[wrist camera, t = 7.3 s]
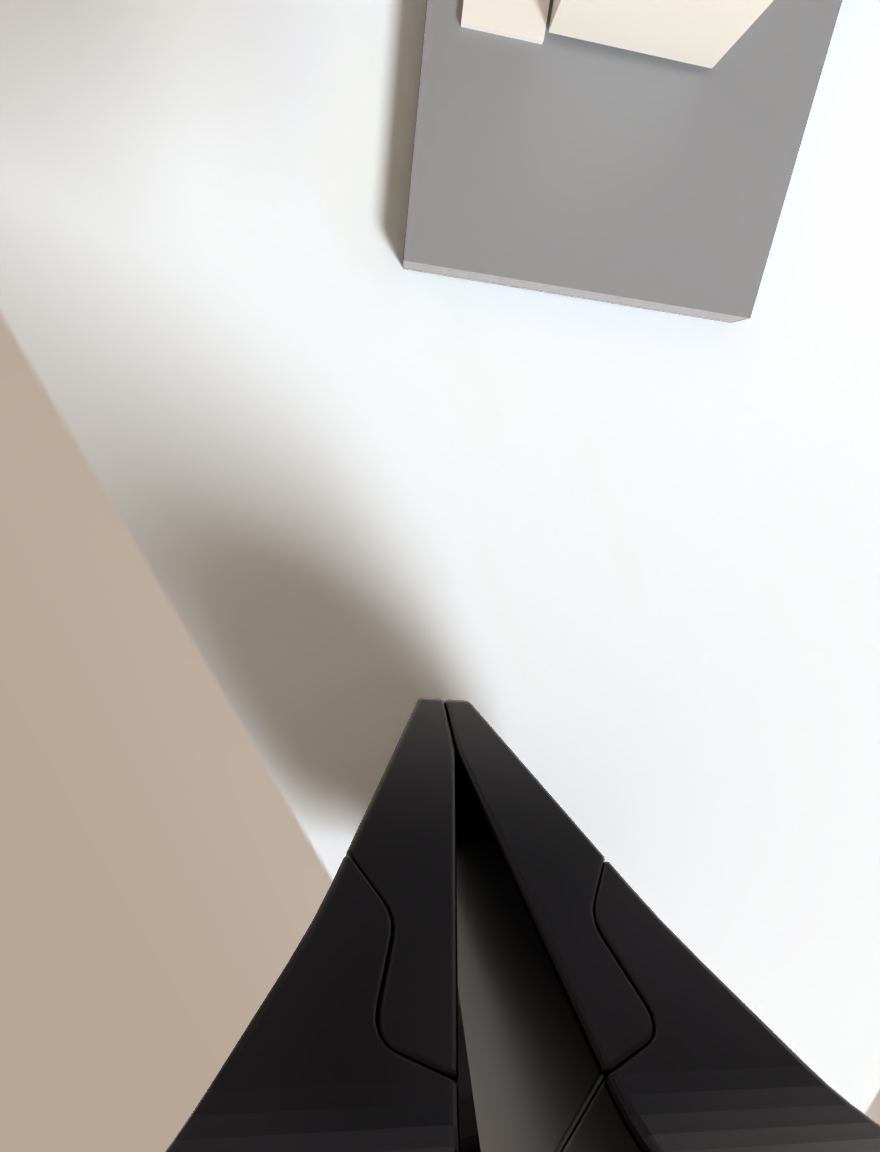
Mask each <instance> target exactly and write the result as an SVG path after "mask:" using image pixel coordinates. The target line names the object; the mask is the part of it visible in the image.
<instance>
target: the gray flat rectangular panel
mask: <svg viewBox="0 0 880 1152" xmlns="http://www.w3.org/2000/svg"><path fill="white" fill-rule="evenodd" d="M841 2H842V0H774V1H773V2H772V3H771V4H770V5H769V6H768V7H767V8H766V10H765V11H764V12H763V13H762V14H761V15H760V16H759V17H758V18H757V19H756V21H755V22H754V23H753V24H752V25H751V26H750V27H749V28H748V29H747V30H746V32H745V33H744V34H743V35H742V36H741V37H740V38H739V39H738V40H737V41H736V43H735V44H734V45H733V46H732V47H731V48H730V49H729V50H728V51H727V52H726V54H725V55H724V56H723V57H722V58H721V59H720V60H719V61H718V62H717V64H716V65H715V66H714V67H713V68H712V69H711V68H707V67H702V66H698V65H693V64H689V63H684V62H680V61H675V60H671V59H666V58H662V57H657V56H653V55H648V54H644V53H639V52H635V51H630V50H626V49H621V48H617V47H612V46H608V45H603V44H599V43H594V42H590V41H585V40H581V39H576V38H571V37H567V36H562V35H558V34H553V33H549V26H550V19H551V13H552V6H553V0H427V11H426V22H425V32H424V43H423V54H422V65H421V76H420V87H419V97H418V108H417V119H416V130H415V141H414V152H413V163H412V173H411V184H410V195H409V206H408V217H407V228H406V238H405V249H404V260H403V269H408V270H414V271H420V272H427V273H433V274H439V275H445V276H451V277H457V278H463V279H469V280H475V281H481V282H487V283H493V284H499V285H505V286H511V287H518V288H524V289H530V290H536V291H542V292H548V293H554V294H560V295H566V296H572V297H578V298H584V299H590V300H596V301H603V302H609V303H615V304H621V305H627V306H633V307H639V308H645V309H651V310H657V311H663V312H669V313H675V314H681V315H687V316H694V317H700V318H706V319H712V320H718V321H724V322H730V323H733V322H737V321H741V320H745V319H749V318H750V317H751V313H752V310H753V306H754V303H755V299H756V296H757V293H758V289H759V286H760V282H761V279H762V275H763V272H764V268H765V265H766V261H767V258H768V255H769V251H770V248H771V244H772V241H773V237H774V234H775V230H776V227H777V223H778V220H779V217H780V213H781V210H782V206H783V203H784V199H785V196H786V192H787V189H788V185H789V182H790V179H791V175H792V172H793V168H794V165H795V161H796V158H797V154H798V151H799V147H800V144H801V141H802V137H803V134H804V130H805V127H806V123H807V120H808V116H809V113H810V109H811V106H812V103H813V99H814V96H815V92H816V89H817V85H818V82H819V78H820V75H821V71H822V68H823V65H824V61H825V58H826V54H827V51H828V47H829V44H830V40H831V37H832V33H833V30H834V27H835V23H836V20H837V16H838V13H839V9H840V6H841Z"/></svg>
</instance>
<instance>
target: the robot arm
mask: <svg viewBox="0 0 880 1152" xmlns="http://www.w3.org/2000/svg"><path fill="white" fill-rule="evenodd" d="M604 860H605V859H604V856H603V855H602V854H601V853H600V852H599V850H598V849H597V848H596V847H595V846H594V845H593V844H592V842H591V841H590V840H589V839H588V838H587V837H586V835H585V834H584V833H583V832H582V831H581V830H580V829H579V827H578V826H577V825H576V824H575V823H574V822H573V821H572V819H571V818H570V817H569V816H568V815H567V814H566V812H565V811H564V810H563V809H562V808H561V807H560V806H559V804H558V803H557V802H556V801H555V800H554V799H553V798H552V796H551V795H550V794H549V793H548V792H547V791H546V789H545V788H544V787H543V786H542V785H541V784H540V783H539V781H538V780H537V779H536V778H535V777H534V776H533V774H532V773H531V772H530V771H529V770H528V769H527V768H526V766H525V765H524V764H523V763H522V762H521V761H520V760H519V758H518V757H517V756H516V755H515V754H514V753H513V751H512V750H511V749H510V748H509V747H508V746H507V745H506V743H505V742H504V741H503V740H502V739H501V738H500V737H499V735H498V734H497V733H496V732H495V731H494V730H493V728H492V727H491V726H490V725H489V724H488V723H487V722H486V720H485V719H484V718H483V717H482V716H481V715H480V714H479V712H478V711H477V710H476V709H475V708H474V707H473V705H472V704H471V703H470V702H468V701H463V700H446V701H445V702H443V701H442V700H441V699H432V698H420V699H419V700H418V702H417V704H416V706H415V708H414V710H413V712H412V714H411V716H410V719H409V721H408V723H407V725H406V727H405V729H404V731H403V734H402V736H401V738H400V740H399V742H398V744H397V746H396V748H395V751H394V753H393V755H392V757H391V759H390V761H389V763H388V766H387V768H386V770H385V772H384V774H383V776H382V778H381V781H380V783H379V785H378V787H377V789H376V791H375V793H374V795H373V798H372V800H371V802H370V804H369V806H368V808H367V810H366V813H365V815H364V817H363V819H362V821H361V823H360V825H359V828H358V830H357V832H356V834H355V836H354V838H353V840H352V842H351V845H350V847H349V849H348V851H347V854H346V857H344V859H343V861H342V863H341V865H340V867H339V869H338V871H337V874H336V876H335V878H334V880H333V882H332V884H331V886H330V888H329V890H328V892H327V894H326V896H325V898H324V900H323V902H322V904H321V906H320V907H319V910H318V912H317V914H316V915H315V917H314V919H313V921H312V923H311V925H310V926H309V928H308V930H307V931H306V933H305V935H304V936H303V938H302V940H301V941H300V943H299V945H298V947H297V948H296V950H295V952H294V953H293V955H292V957H291V959H290V960H289V962H288V964H287V965H286V967H285V969H284V970H283V972H282V973H281V975H280V976H279V978H278V979H277V981H276V983H275V984H274V986H273V987H272V989H271V991H270V992H269V994H268V995H267V997H266V998H265V1000H264V1002H263V1003H262V1005H261V1006H260V1008H259V1010H258V1011H257V1013H256V1014H255V1016H254V1018H253V1019H252V1021H251V1022H250V1024H249V1025H248V1027H247V1029H246V1030H245V1032H244V1033H243V1035H242V1036H241V1038H240V1040H239V1041H238V1043H237V1044H236V1046H235V1048H234V1049H233V1051H232V1053H231V1054H230V1056H229V1057H228V1059H227V1060H226V1062H225V1063H224V1065H223V1067H222V1068H221V1070H220V1071H219V1073H218V1074H217V1076H216V1078H215V1079H214V1081H213V1082H212V1084H211V1086H210V1087H209V1089H208V1090H207V1092H206V1093H205V1095H204V1096H203V1098H202V1099H201V1101H200V1102H199V1104H198V1105H197V1107H196V1108H195V1110H194V1111H193V1113H192V1114H191V1116H190V1117H189V1119H188V1120H187V1122H186V1123H185V1125H184V1126H183V1128H182V1129H181V1130H180V1132H179V1133H178V1135H177V1136H176V1138H175V1139H174V1141H173V1142H172V1144H171V1145H170V1146H169V1148H168V1149H167V1150H166V1152H880V1125H879V1124H877V1123H875V1122H874V1121H873V1120H871V1119H870V1118H869V1117H868V1116H866V1115H865V1114H864V1113H862V1112H861V1111H860V1110H858V1109H857V1108H855V1107H854V1106H853V1105H851V1104H850V1103H849V1102H848V1101H847V1100H845V1099H844V1098H843V1097H842V1096H841V1095H839V1094H838V1093H837V1092H836V1091H835V1090H833V1089H832V1088H831V1087H830V1086H829V1085H828V1084H826V1083H825V1082H824V1081H823V1080H822V1079H821V1078H820V1077H819V1076H818V1075H817V1074H816V1073H815V1072H814V1071H813V1070H811V1069H810V1068H809V1067H808V1066H807V1065H806V1064H805V1063H804V1062H803V1061H802V1060H801V1059H800V1058H799V1057H798V1056H797V1055H796V1054H795V1053H794V1052H793V1051H792V1050H791V1049H790V1048H789V1047H788V1046H787V1045H786V1044H785V1043H784V1042H783V1041H782V1040H781V1039H780V1038H779V1037H778V1036H777V1035H776V1034H775V1033H774V1032H773V1031H772V1030H771V1029H770V1028H768V1027H767V1026H766V1025H765V1024H764V1023H763V1022H762V1021H761V1020H760V1019H759V1018H758V1017H757V1016H756V1015H755V1014H754V1013H753V1012H752V1011H751V1010H750V1009H749V1008H748V1007H747V1006H746V1005H745V1004H744V1003H743V1002H742V1001H741V1000H740V999H739V998H738V997H737V996H736V995H735V994H734V993H733V992H732V991H731V990H730V989H729V988H728V987H727V986H726V985H725V984H724V983H723V982H722V981H721V980H720V979H719V978H718V977H717V976H716V975H715V974H714V973H713V972H712V971H711V970H710V969H709V968H707V967H706V966H705V965H704V964H703V963H702V962H701V961H700V960H699V959H698V958H697V957H696V956H695V955H694V953H693V952H692V951H691V950H690V949H689V948H688V947H687V946H686V945H685V944H684V943H683V942H682V941H681V940H680V939H679V938H678V937H677V936H676V935H675V934H674V933H673V932H672V931H671V930H670V929H669V928H668V927H667V926H666V925H665V924H664V923H663V922H662V921H661V920H660V919H659V918H658V917H657V915H656V914H655V913H654V912H653V911H652V910H651V909H650V908H649V907H648V906H647V904H646V903H645V902H644V901H643V900H642V899H641V898H640V897H639V896H638V895H637V893H636V892H635V891H634V890H633V889H632V888H631V887H630V886H629V885H628V883H627V882H626V881H625V880H624V879H623V878H622V877H621V875H620V874H619V873H618V872H617V871H616V870H615V869H614V867H613V866H612V865H611V864H610V863H609V862H604Z"/></svg>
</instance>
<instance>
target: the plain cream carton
mask: <svg viewBox="0 0 880 1152" xmlns="http://www.w3.org/2000/svg"><path fill="white" fill-rule="evenodd" d="M773 1H774V0H553V6H552V13H551V19H550V26H549V33H553V34H558V35H562V36H567V37H571V38H576V39H581V40H585V41H590V42H594V43H599V44H603V45H608V46H612V47H617V48H621V49H626V50H630V51H635V52H639V53H644V54H648V55H653V56H657V57H662V58H666V59H671V60H675V61H680V62H684V63H689V64H693V65H698V66H702V67H707V68H711V69H712V68H713V67H714V66H715V65H716V64H717V62H718V61H719V60H720V59H721V58H722V57H723V56H724V55H725V54H726V52H727V51H728V50H729V49H730V48H731V47H732V46H733V45H734V44H735V43H736V41H737V40H738V39H739V38H740V37H741V36H742V35H743V34H744V33H745V32H746V30H747V29H748V28H749V27H750V26H751V25H752V24H753V23H754V22H755V21H756V19H757V18H758V17H759V16H760V15H761V14H762V13H763V12H764V11H765V10H766V8H767V7H768V6H769V5H770V4H771V3H772V2H773Z"/></svg>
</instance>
